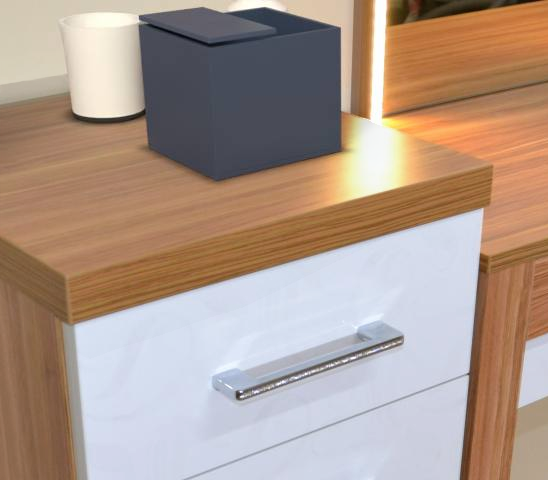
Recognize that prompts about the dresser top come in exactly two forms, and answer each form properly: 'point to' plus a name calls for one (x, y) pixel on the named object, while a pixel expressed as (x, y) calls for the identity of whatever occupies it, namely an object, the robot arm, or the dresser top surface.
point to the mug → (104, 66)
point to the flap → (207, 24)
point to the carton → (243, 95)
